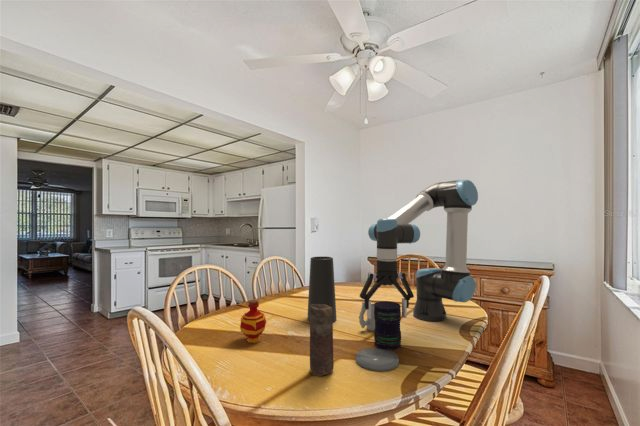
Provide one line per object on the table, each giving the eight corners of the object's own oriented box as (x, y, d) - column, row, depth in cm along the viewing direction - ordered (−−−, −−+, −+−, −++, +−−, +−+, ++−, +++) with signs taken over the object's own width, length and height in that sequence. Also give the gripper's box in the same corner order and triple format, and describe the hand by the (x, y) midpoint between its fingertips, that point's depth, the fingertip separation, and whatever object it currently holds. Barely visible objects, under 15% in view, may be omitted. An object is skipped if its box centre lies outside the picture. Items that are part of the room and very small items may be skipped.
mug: (388, 330, 130) (387, 301, 130) (364, 334, 125) (364, 304, 125) (377, 324, 137) (377, 297, 137) (354, 328, 132) (354, 300, 132)
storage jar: (396, 352, 107) (395, 309, 108) (370, 346, 112) (369, 305, 113) (404, 343, 116) (404, 303, 116) (379, 338, 121) (379, 299, 121)
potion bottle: (271, 336, 122) (271, 299, 123) (258, 346, 113) (258, 305, 113) (248, 333, 126) (248, 297, 126) (233, 343, 116) (233, 303, 116)
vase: (302, 322, 140) (302, 258, 141) (314, 313, 153) (314, 255, 154) (330, 325, 135) (330, 260, 136) (340, 316, 148) (340, 256, 149)
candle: (309, 365, 98) (309, 302, 99) (331, 364, 99) (331, 301, 99) (310, 377, 90) (310, 309, 91) (335, 376, 91) (334, 308, 92)
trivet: (389, 350, 109) (389, 347, 109) (406, 369, 95) (406, 365, 95) (351, 353, 107) (351, 349, 107) (362, 372, 93) (362, 368, 93)
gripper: (414, 258, 120) (414, 313, 119) (351, 258, 117) (351, 315, 116) (423, 260, 113) (423, 319, 112) (356, 261, 110) (356, 321, 109)
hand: (386, 317), depth 114 cm, fingers open, 13 cm apart
